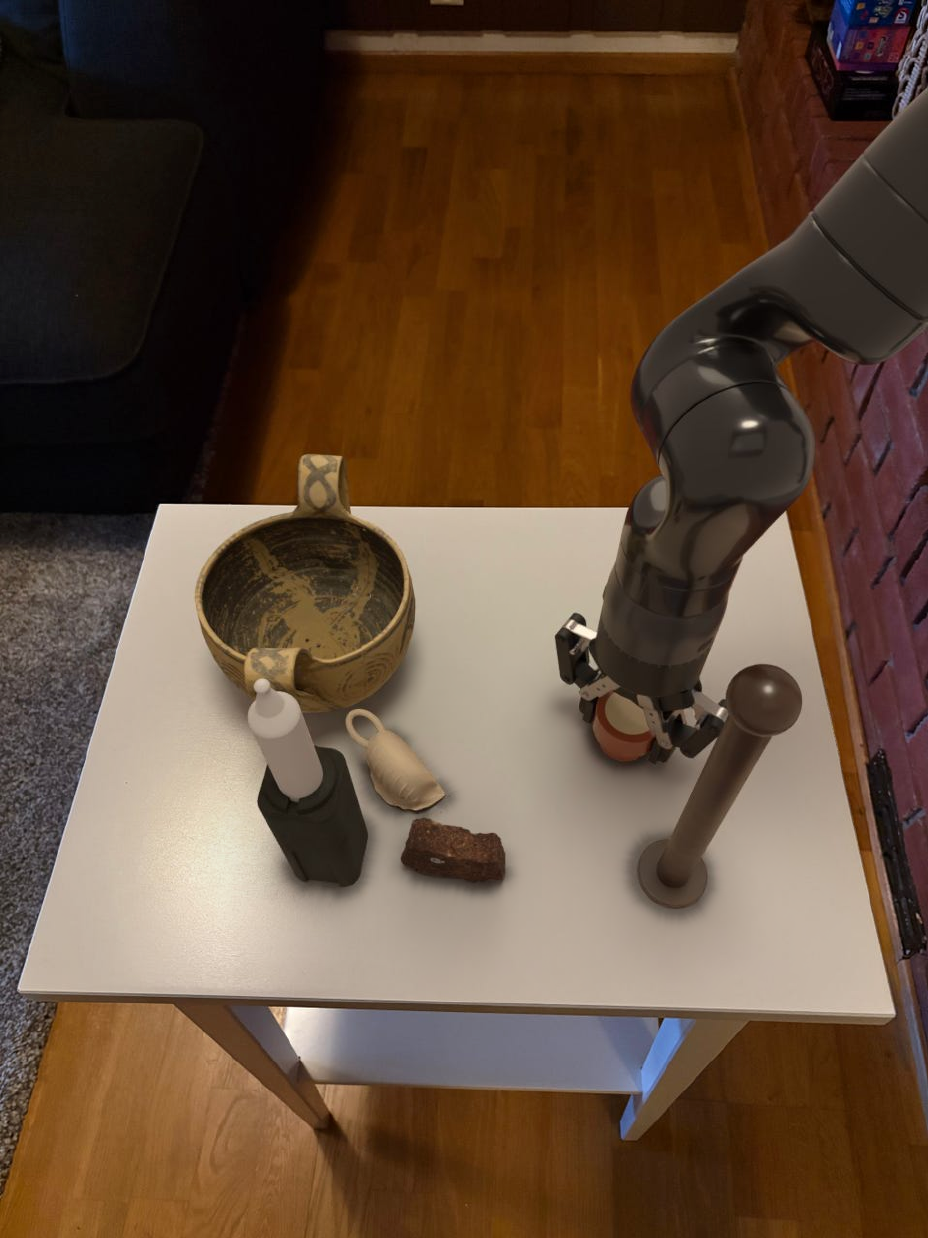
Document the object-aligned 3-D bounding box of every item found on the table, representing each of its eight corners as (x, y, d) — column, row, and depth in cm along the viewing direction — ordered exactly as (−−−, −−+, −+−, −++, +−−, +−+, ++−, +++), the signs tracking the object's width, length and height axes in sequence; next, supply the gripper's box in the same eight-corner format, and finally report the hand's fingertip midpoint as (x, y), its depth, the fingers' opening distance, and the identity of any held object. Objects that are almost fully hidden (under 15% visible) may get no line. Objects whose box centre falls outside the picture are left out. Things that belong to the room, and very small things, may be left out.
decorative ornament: (404, 827, 67) (399, 799, 62) (345, 749, 71) (336, 718, 66) (447, 797, 68) (444, 768, 64) (387, 722, 72) (380, 690, 68)
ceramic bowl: (405, 784, 69) (387, 688, 56) (195, 770, 70) (133, 673, 58) (433, 564, 81) (424, 446, 69) (255, 555, 83) (215, 438, 70)
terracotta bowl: (668, 732, 71) (679, 704, 67) (634, 781, 69) (643, 755, 65) (611, 697, 73) (619, 669, 69) (577, 744, 70) (582, 717, 67)
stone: (400, 872, 65) (395, 848, 61) (409, 833, 66) (404, 807, 62) (503, 889, 64) (504, 866, 60) (509, 850, 66) (510, 824, 61)
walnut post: (717, 867, 64) (844, 671, 42) (685, 922, 62) (800, 747, 39) (658, 829, 66) (749, 621, 43) (624, 881, 64) (701, 691, 41)
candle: (290, 880, 65) (198, 719, 44) (306, 815, 67) (227, 636, 47) (357, 889, 64) (295, 731, 44) (370, 823, 67) (319, 646, 46)
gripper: (788, 630, 55) (725, 749, 69) (596, 528, 60) (574, 658, 74) (734, 713, 52) (679, 820, 66) (535, 598, 57) (524, 720, 71)
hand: (624, 733), depth 70 cm, fingers closed on terracotta bowl, 5 cm apart
